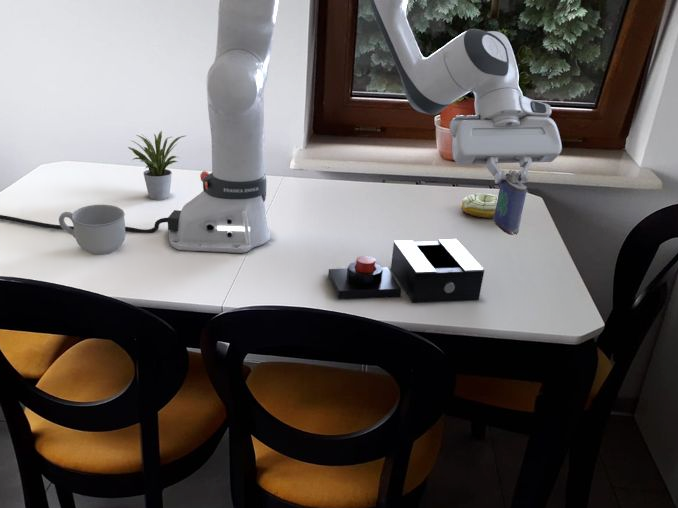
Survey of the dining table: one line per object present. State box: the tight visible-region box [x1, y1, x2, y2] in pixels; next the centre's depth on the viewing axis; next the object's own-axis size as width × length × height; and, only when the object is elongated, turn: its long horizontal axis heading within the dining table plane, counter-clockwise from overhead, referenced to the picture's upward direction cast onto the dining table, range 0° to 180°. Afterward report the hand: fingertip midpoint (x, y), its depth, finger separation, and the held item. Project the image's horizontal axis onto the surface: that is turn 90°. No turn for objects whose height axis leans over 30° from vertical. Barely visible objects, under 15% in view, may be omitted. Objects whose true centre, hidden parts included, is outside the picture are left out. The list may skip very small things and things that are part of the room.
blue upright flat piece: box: [492, 169, 528, 236], centre depth 131 cm, size 9×3×11 cm, turn 3°
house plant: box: [127, 130, 186, 201], centre depth 176 cm, size 14×14×16 cm
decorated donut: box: [461, 192, 498, 219], centre depth 174 cm, size 10×11×4 cm
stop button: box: [355, 255, 376, 273], centre depth 134 cm, size 4×4×2 cm
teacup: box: [58, 204, 126, 255], centre depth 148 cm, size 14×11×8 cm
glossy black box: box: [390, 238, 485, 304], centre depth 136 cm, size 14×16×6 cm
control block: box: [327, 261, 402, 300], centre depth 135 cm, size 12×10×4 cm
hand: (512, 181), depth 130 cm, fingers closed on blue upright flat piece, 3 cm apart
